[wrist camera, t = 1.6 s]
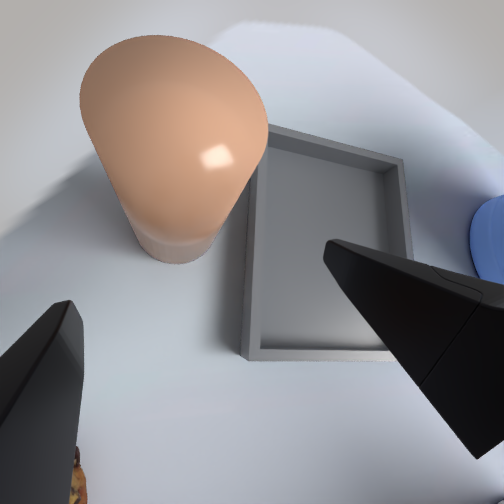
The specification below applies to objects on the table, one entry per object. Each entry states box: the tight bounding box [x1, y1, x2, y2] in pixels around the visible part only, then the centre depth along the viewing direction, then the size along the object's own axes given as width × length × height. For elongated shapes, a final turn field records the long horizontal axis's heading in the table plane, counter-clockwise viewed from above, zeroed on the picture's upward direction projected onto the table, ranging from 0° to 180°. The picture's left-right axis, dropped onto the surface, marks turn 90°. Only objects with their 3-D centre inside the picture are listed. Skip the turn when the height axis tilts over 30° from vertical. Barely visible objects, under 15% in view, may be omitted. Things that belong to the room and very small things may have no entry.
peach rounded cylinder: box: [80, 35, 268, 264], centre depth 15 cm, size 6×6×13 cm
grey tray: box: [240, 124, 414, 361], centre depth 24 cm, size 20×16×2 cm
